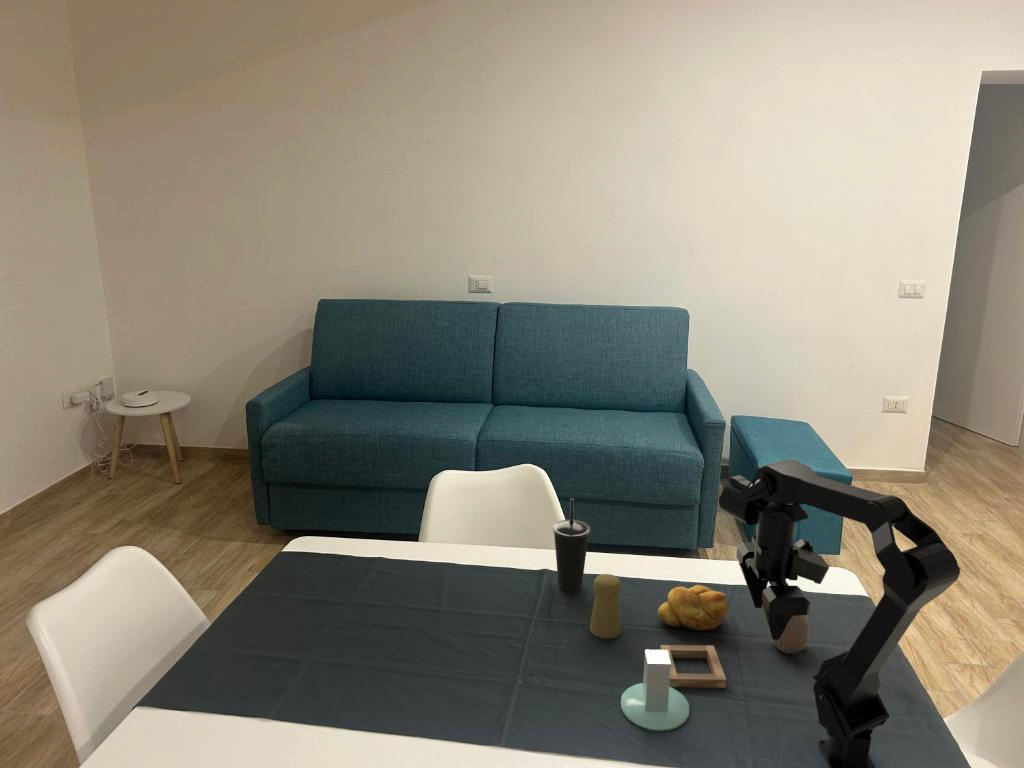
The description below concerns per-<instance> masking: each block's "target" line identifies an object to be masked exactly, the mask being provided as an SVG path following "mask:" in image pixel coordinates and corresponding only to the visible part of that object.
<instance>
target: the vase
mask: <svg viewBox="0 0 1024 768" xmlns="http://www.w3.org/2000/svg"><path fill="white" fill-rule="evenodd" d="M810 637H811V626H810V621H809V619H808V617H807V615H795V616H793V617H792V618H791V619H790V621H789V622H788V624H787V626H786V628H785V630H784V631H783V633H782V635H781V637H780V639H779V640H773V639H772V638H771V641H772V643H773V644H774V646H775V647H777V649H778V650H779V651H781V652H783V653H785V654H793V655H794V654H798V653H800V652H802V651H803V650H804V649H805V648H806V647H807V645H808V644H809V641H810V639H811V638H810Z"/></svg>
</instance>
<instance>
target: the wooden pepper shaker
mask: <svg viewBox="0 0 1024 768" xmlns="http://www.w3.org/2000/svg"><path fill="white" fill-rule="evenodd" d="M592 586H593V587H592V588H593V592H594V593H595V596H594V602H593V607H592V611H591V619H590V624H589V632H590V633H591V634H592V635H593V636H595V637H598V638H599V639H600V638H601V639H615V638H617V637H619V636H620V635H621V632H622V623H621V615H620V614H621V613H620V604H619V601H620V600H619V595H620V592H621V590H622V583H621V580H620V579H619V578H618V576H616V575H613V574H612V573H603V574H599V575H598V576H596V577H595V578H594V581H593V584H592Z"/></svg>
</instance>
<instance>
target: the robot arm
mask: <svg viewBox="0 0 1024 768" xmlns="http://www.w3.org/2000/svg"><path fill="white" fill-rule="evenodd" d="M801 505H806V506H810V507H813V508H816V509H819V510H821V511H824V512H828V513H831V514H834V515H837V516H840V517H842V518H845V519H849V520H851V521H854V522H858V523H860V524H864V525H865V527H866V528H867V529H868V531H869V532H870V534H871V539H872V544H873V549H874V554H875V557H876V559H877V560H878V562H879V563H880V565H881V566H882V567H883V570H885V571H884V573H883V576H882V577H881V578H882V581H881V582H882V587H883V595H882V596H881V598H880V599H879V601H878V603H877V604H876V607H875V608H874V610H873V612H871V614H870V616H869V618H868V620H867V621H866V622H865V624H864V625H863V627H862V629H861V630H860V633H859V634H858V635H857V637H856V639H855V640H854V642H853V643H852V645H851V647H850V648H849V650H846V651H845V652H842V653H840V654H838V655H834V656H832V657H830V658H826V659H825V660H823V662H822V663H821V665H820V668H819V671H818V672H817V674H815V675H813V676H812V679H813V680H815V682H814V683H813V688H812V689H813V690H812V691H813V693H814V699H815V703H816V704H815V705H816V711H817V716H818V722H819V725H821V726H822V728H825V730H826V734H827V735H828V739H820V740H819V741H818V746H819V748H820V750H821V752H822V754H823V756H824V759H825V761H826V762H827V765H828V767H829V768H876V766H875V765H874V763H873V761H872V758H871V757H870V750H871V744H872V740H873V739H872V738H873V730H874V729H876V728H878V727H880V726H884V725H885V724H886V723H887V721H888V720H889V719H890V714H889V712H888V711H887V708H886V706H885V704H884V702H883V700H882V699H881V697H880V695H879V692H878V691H879V689H880V686H881V681H880V677H879V673H880V671H881V669H882V668H883V666H884V665H885V663H886V661H887V660H888V658H889V657H890V656H891V654H892V652H893V651H894V650H895V648H896V647H897V645H898V643H899V642H900V641H901V639H902V638H903V636H904V635H905V633H906V632H907V630H908V629H909V627H910V625H911V624H912V623H913V621H914V620H915V618H916V616H917V615H918V614H919V612H920V611H921V609H922V608H924V606H926V605H927V604H929V603H930V602H932V601H933V600H934V599H936V598H938V597H940V596H941V594H943V593H944V592H945V591H947V589H949V588H950V587H951V586H952V585H953V584H955V582H957V580H958V579H959V576H960V575H961V568H960V566H959V564H958V560H957V558H956V557H955V555H954V553H953V552H952V551H951V550H950V549H949V548H948V546H947V545H946V544H945V543H944V541H943V540H942V538H941V537H940V535H939V534H938V533H937V531H936V530H935V529H934V528H933V527H931V526H930V525H928V524H927V523H926V522H924V521H923V520H922V519H921V518H919V517H918V516H916V515H915V514H914V513H913V512H912V510H911V509H910V507H908V505H907V503H906V502H905V501H904V500H903V499H902V498H901V497H899V496H897V495H896V496H895V495H891V494H888V495H886V494H883V493H880V492H879V493H878V492H876V491H872V490H870V489H869V490H868V489H866V488H861V487H858V486H854V485H850V484H848V483H843V482H840V481H836V480H834V479H830V478H826V477H823V476H821V475H819V474H817V473H816V472H815V471H814V470H813V468H812V467H811V466H809V465H806V464H804V463H802V462H800V461H799V460H796V459H792V458H791V459H786V460H780V461H778V462H777V461H776V462H772V463H768V464H765V465H760V466H759V467H758V469H757V470H756V472H755V476H754V477H753V478H752V479H751V481H750V480H748V479H747V478H746V477H744V476H743V475H740V474H739V475H734V476H731V477H730V478H729V483H728V484H727V485H726V486H724V488H723V489H722V491H721V494H720V496H719V497H718V506H719V508H720V510H721V511H723V512H724V513H726V514H727V515H729V516H731V517H733V518H735V519H736V520H737V521H740V522H742V523H743V524H745V525H749V526H755V525H756V534H755V535H752V536H751V542H749V541H748V542H746V541H745V542H742V543H740V544H739V545H738V546H737V548H736V559H737V560H738V565H739V567H740V569H741V572H742V576H743V578H744V580H745V585H746V586H747V589H748V593H749V595H750V597H751V601H752V604H753V606H754V608H755V609H761V608H762V610H763V613H764V617H765V621H766V624H767V627H768V630H769V634H770V638H771V640H772V639H773V640H779V639H780V637H781V635H782V633H783V631H784V630H785V628H786V626H787V624H788V622H789V621H790V619H791V618H792V617H793V616H795V615H805V616H808V615H809V614H810V610H811V609H810V607H811V600H810V599H809V598H808V597H807V595H806V594H805V592H804V591H803V590H802V588H800V587H799V586H798V585H789V583H788V581H787V580H789V581H798V577H800V578H803V579H805V580H808V581H812V582H814V583H815V584H817V585H821V584H822V582H823V581H824V579H825V577H826V575H827V573H828V571H829V569H830V566H829V564H828V563H827V562H826V560H825V559H824V558H823V557H822V556H821V555H820V554H819V553H818V552H817V551H815V550H814V546H813V544H812V543H811V542H810V541H809V540H807V539H804V538H800V539H799V540H798V541H797V542H795V532H796V523H799V522H802V521H805V520H808V519H809V515H808V513H807V512H806V510H804V508H803V507H802V506H801ZM893 528H894V529H895V530H896V531H898V532H899V533H900V534H902V535H903V536H904V537H906V538H907V539H908V540H910V541H912V543H913V544H915V547H912V548H907V549H905V550H901V549H900V547H899V546H898V545H897V542H896V538H895V533H894V529H893ZM794 542H795V543H794ZM768 584H769V585H768Z"/></svg>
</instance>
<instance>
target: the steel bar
mask: <svg viewBox="0 0 1024 768" xmlns="http://www.w3.org/2000/svg"><path fill="white" fill-rule="evenodd" d="M643 660H644V663H643V664H644V665H643V678H642V679H643V680H642V681H643V682H642V683H643V696H642V697H643V702H644V708H645V711H648V712H668V699H669V684H670V669H671V663H670V659H669V655H668V651H667V650H660V649H645V650H644V659H643Z"/></svg>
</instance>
